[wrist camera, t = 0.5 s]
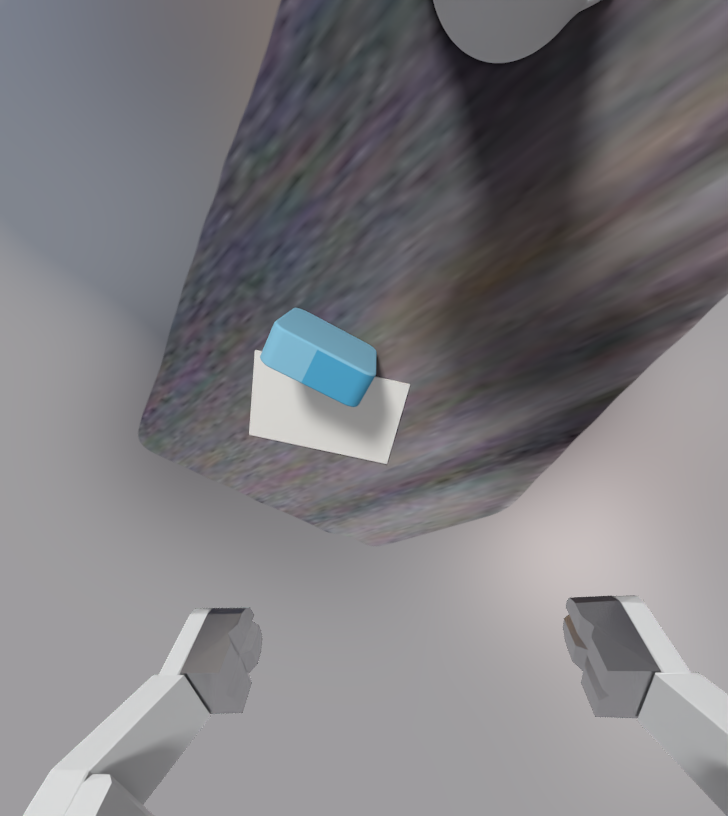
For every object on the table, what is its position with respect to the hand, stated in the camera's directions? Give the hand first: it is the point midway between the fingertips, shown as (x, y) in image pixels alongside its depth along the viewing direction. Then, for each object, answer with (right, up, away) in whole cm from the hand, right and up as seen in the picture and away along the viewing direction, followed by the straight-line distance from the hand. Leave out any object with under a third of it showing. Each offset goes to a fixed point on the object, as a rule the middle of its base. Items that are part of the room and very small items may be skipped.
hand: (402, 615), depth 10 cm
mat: (-7, +5, +45) cm, 45 cm away
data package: (-6, +14, +40) cm, 43 cm away
